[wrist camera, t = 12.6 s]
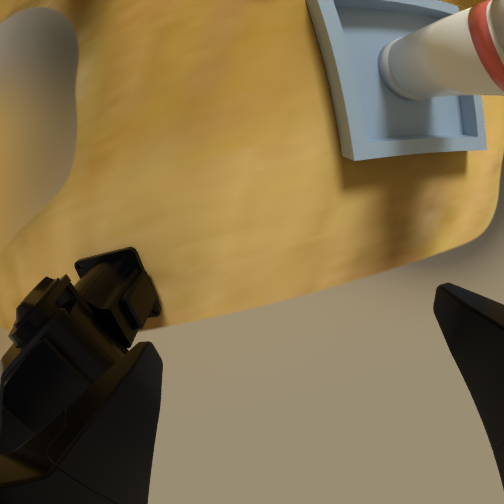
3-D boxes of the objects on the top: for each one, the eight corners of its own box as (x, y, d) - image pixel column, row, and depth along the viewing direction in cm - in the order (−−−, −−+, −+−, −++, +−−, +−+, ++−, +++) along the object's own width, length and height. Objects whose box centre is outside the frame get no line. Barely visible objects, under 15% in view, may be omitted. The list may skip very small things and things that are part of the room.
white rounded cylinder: (372, 84, 15) (520, 53, 3) (383, 31, 13) (508, -33, 1) (425, 110, 16) (575, 126, 4) (434, 59, 14) (570, 40, 2)
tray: (342, 156, 18) (354, 160, 16) (305, -1, 13) (312, -15, 11) (467, 145, 17) (486, 150, 15) (441, 12, 12) (457, 6, 10)
